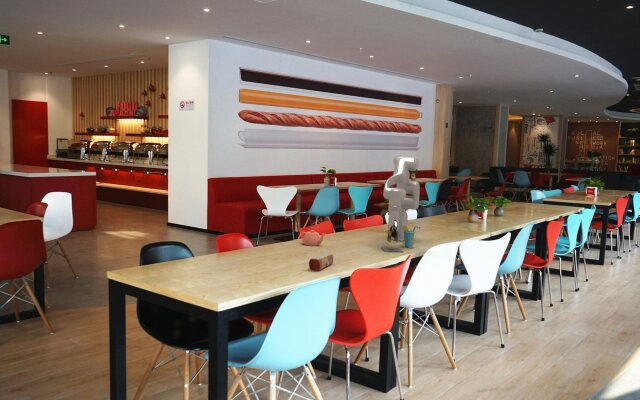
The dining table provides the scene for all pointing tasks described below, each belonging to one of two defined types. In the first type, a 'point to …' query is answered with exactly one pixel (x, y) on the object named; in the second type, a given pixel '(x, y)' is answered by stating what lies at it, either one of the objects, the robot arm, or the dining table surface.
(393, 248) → the mat
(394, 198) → the robot arm
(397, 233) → the brown box with pegs
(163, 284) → the dining table surface
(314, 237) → the teapot
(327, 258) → the snack package
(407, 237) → the cup
